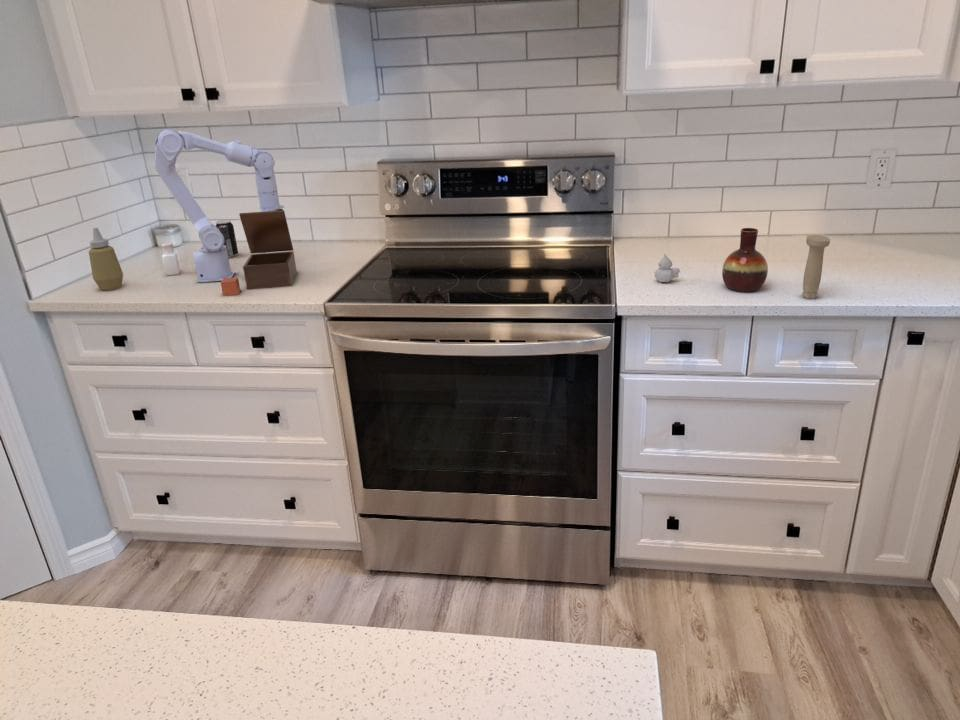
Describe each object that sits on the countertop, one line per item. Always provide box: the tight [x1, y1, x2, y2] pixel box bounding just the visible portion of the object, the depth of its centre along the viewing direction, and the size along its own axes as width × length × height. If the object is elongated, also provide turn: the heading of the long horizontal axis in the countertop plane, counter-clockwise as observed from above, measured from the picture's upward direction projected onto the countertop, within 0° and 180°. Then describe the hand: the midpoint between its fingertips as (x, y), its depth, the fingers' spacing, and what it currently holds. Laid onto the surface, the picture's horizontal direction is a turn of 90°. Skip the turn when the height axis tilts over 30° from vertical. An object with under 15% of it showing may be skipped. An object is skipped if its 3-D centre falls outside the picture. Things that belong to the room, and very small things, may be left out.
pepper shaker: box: [160, 242, 181, 276], centre depth 216 cm, size 4×4×10 cm
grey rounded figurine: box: [653, 253, 681, 283], centre depth 188 cm, size 5×7×8 cm
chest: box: [242, 250, 298, 290], centre depth 205 cm, size 14×13×7 cm
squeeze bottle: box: [88, 227, 124, 291], centre depth 202 cm, size 8×8×18 cm
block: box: [220, 276, 241, 297], centre depth 195 cm, size 4×4×4 cm
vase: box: [721, 227, 769, 293], centre depth 179 cm, size 11×11×15 cm
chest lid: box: [238, 209, 294, 255], centre depth 204 cm, size 14×13×1 cm
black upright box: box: [215, 219, 239, 259], centre depth 232 cm, size 6×6×12 cm
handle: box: [802, 234, 831, 300], centre depth 170 cm, size 5×6×15 cm
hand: (274, 236), depth 214 cm, fingers open, 7 cm apart
